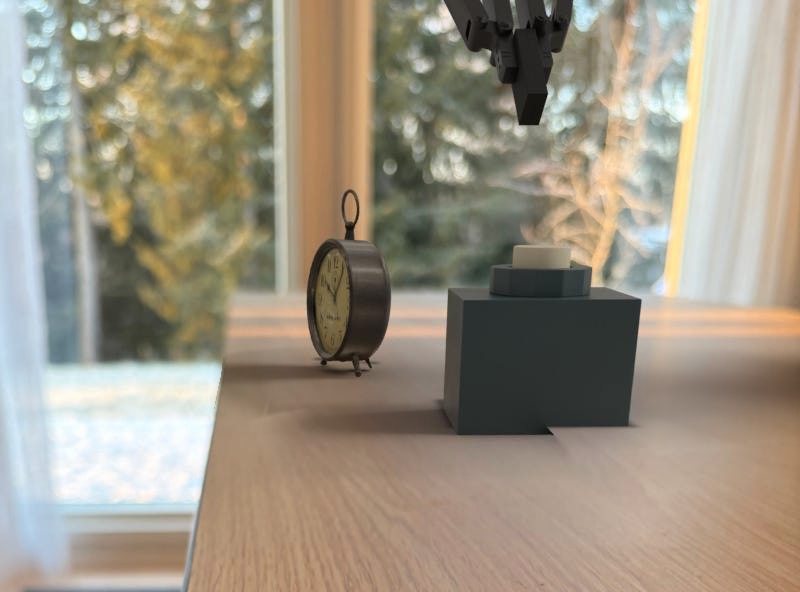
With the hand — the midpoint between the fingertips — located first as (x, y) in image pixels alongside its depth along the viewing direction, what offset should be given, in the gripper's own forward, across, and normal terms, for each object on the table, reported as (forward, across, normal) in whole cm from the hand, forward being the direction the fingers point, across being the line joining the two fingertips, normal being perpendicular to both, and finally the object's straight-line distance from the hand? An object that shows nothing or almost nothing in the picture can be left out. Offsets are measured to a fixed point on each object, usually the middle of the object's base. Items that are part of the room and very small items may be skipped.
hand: (533, 109), depth 76 cm
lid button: (+11, 0, -4) cm, 12 cm away
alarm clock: (+1, +11, -30) cm, 32 cm away
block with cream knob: (+19, 0, -11) cm, 22 cm away
